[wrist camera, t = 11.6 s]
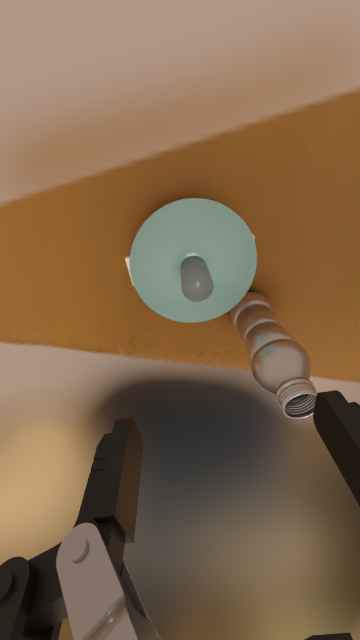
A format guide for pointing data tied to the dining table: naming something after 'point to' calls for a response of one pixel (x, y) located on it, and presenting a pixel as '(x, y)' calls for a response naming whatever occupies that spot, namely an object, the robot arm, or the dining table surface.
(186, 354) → the dining table surface
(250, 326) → the plastic bottle
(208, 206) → the lid
